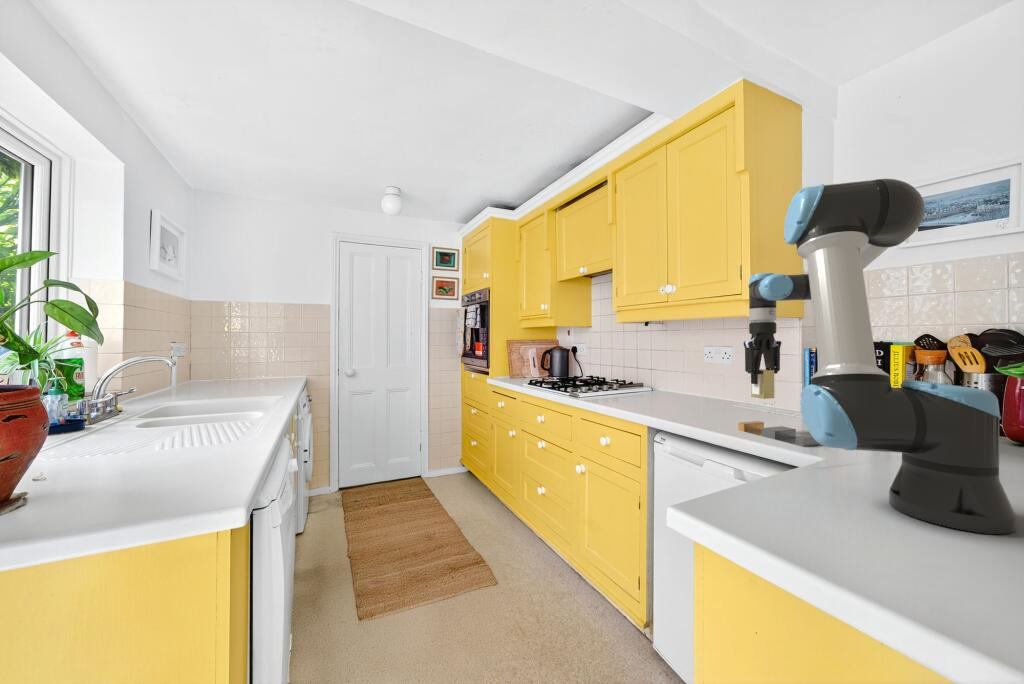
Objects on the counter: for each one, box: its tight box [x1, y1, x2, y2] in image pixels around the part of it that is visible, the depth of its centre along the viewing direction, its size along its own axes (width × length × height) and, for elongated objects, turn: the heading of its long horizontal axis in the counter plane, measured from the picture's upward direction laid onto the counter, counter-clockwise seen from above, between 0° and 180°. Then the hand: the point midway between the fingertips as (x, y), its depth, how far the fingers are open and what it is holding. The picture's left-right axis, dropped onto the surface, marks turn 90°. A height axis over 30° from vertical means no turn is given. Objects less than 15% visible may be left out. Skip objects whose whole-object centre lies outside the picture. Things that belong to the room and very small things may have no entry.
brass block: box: [750, 368, 775, 400], centre depth 131 cm, size 4×4×9 cm
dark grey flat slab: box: [737, 420, 822, 448], centre depth 125 cm, size 8×22×3 cm, turn 17°
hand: (762, 393), depth 131 cm, fingers closed on brass block, 4 cm apart
